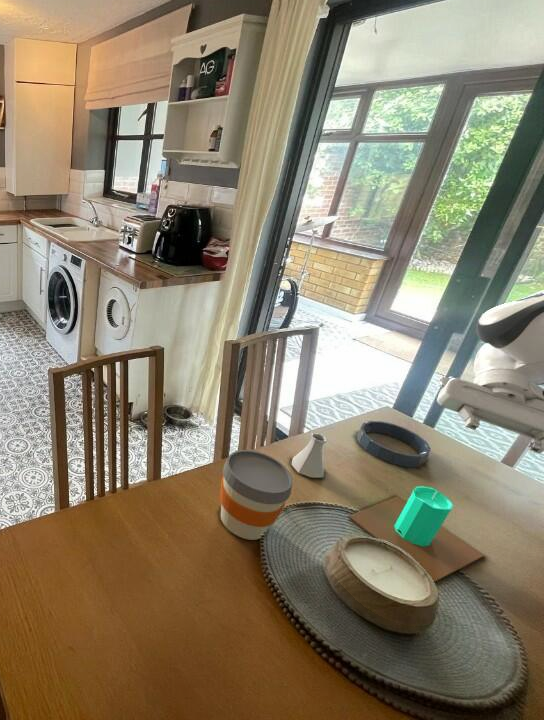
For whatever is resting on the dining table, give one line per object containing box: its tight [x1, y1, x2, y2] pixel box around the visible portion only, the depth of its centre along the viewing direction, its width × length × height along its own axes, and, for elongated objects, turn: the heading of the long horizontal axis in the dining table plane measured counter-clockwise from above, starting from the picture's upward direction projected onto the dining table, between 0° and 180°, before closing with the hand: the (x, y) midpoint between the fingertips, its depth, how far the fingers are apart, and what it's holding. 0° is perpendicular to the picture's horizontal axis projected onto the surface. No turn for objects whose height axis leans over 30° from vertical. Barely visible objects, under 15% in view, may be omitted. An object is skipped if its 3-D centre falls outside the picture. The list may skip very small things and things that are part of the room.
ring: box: [356, 420, 432, 468], centre depth 110 cm, size 14×14×4 cm
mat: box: [348, 496, 485, 583], centre depth 86 cm, size 16×16×1 cm
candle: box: [394, 485, 454, 546], centre depth 84 cm, size 6×6×12 cm
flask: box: [291, 432, 327, 479], centre depth 102 cm, size 7×7×10 cm
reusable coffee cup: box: [219, 449, 294, 541], centre depth 86 cm, size 13×13×15 cm
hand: (503, 438), depth 81 cm, fingers open, 8 cm apart
